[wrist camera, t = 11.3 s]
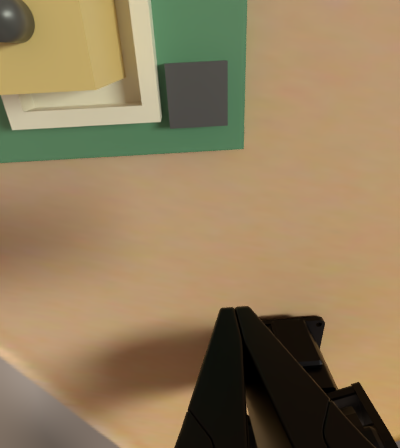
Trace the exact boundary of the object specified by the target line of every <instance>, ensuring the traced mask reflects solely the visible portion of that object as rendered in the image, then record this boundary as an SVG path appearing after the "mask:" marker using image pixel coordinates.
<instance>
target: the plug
mask: <svg viewBox="0 0 400 448" xmlns="http://www.w3.org/2000/svg"><path fill="white" fill-rule="evenodd" d="M123 78H126V75H125V69H124V62H123V55H122V48H121V41H120V34H119V28H118V21H117V14H116V7H115V0H0V95H12V94H31V93H49V92H68V91H87V90H97V89H100V88H102V87H104V86H107V85H109V84H111V83H114V82H116V81H119V80H121V79H123Z"/></svg>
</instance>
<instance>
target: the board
mask: <svg viewBox="0 0 400 448" xmlns="http://www.w3.org/2000/svg"><path fill="white" fill-rule="evenodd" d="M115 7H116V14H117V21H118V28H119V34H120V41H121V48H122V55H123V62H124V69H125V75H126V78H123V79H121V80H119V81H116V82H114V83H111V84H109V85H107V86H104V87H102V88H100V89H97V90H87V91H68V92H49V93H31V94H12V95H0V163H8V162H25V161H43V160H60V159H77V158H95V157H112V156H129V155H147V154H164V153H181V152H199V151H216V150H233V149H244V108H245V67H246V25H247V0H115Z"/></svg>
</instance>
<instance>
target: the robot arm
mask: <svg viewBox="0 0 400 448" xmlns="http://www.w3.org/2000/svg"><path fill="white" fill-rule="evenodd" d="M324 326H325V322H324V320H323V319H322V317H306V318H291V319H277V320H262V321H261V320H260V318H259V317H258V316H257V315H256V314H255V313H254V312H253V310H252V309H251V308H250V307H248V306H242V307H236V308H235V309H234V308H233V307H227V308H221V309H220V311H219V314H218V317H217V320H216V323H215V326H214V329H213V333H212V336H211V339H210V342H209V345H208V348H207V351H206V354H205V357H204V360H203V364H202V367H201V370H200V373H199V376H198V379H197V382H196V385H195V388H194V391H193V395H192V398H191V401H190V404H189V407H188V412H187V413H186V416H185V419H184V422H183V425H182V428H181V431H180V433H179V436H178V439H177V442H176V445H175V447H174V448H398V447H397V445H396V443H395V441H394V439H393V437H392V436H391V434H390V432H389V431H388V429H387V427H386V426H385V424H384V422H383V421H382V419H381V417H380V416H379V414H378V412H377V411H376V409H375V408H374V406H373V404H372V403H371V401H370V399H369V398H368V396H367V394H366V393H365V391H364V389H363V388H362V386H361V385H360V383H359V382H357V383H354V384H351V385H352V386H349V387H345V388H342V389H338V388H337V386H336V384H335V381H334V379H333V377H332V375H331V373H330V371H329V368H328V366H327V364H326V362H325V360H324V358H323V356H322V353H321V351H320V345H321V340H322V335H323V331H324ZM246 404H247V408H248V412H249V416H248V414H247V411H246Z"/></svg>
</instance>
